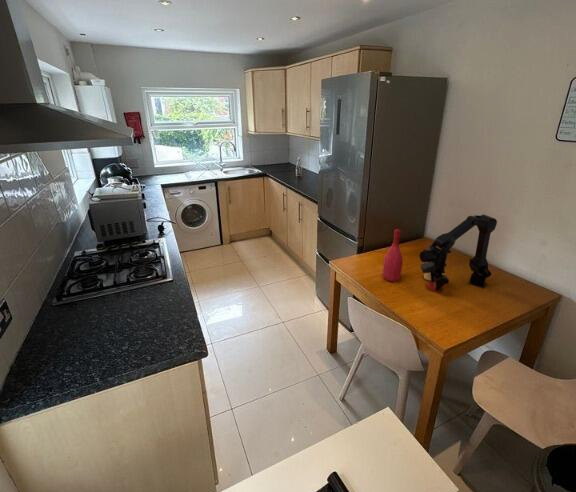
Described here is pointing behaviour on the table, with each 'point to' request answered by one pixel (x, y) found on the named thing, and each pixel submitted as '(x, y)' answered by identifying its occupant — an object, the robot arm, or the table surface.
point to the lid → (432, 286)
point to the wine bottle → (393, 260)
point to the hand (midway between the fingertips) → (434, 286)
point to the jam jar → (427, 276)
